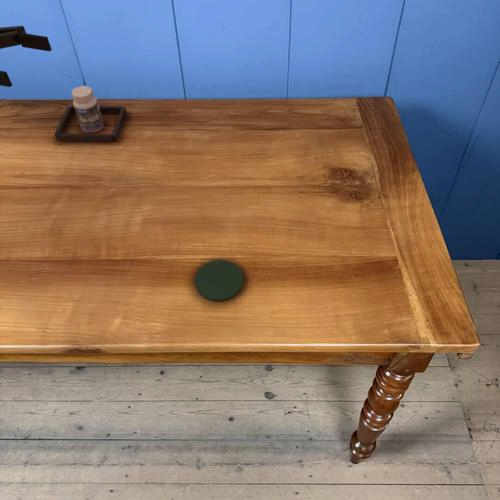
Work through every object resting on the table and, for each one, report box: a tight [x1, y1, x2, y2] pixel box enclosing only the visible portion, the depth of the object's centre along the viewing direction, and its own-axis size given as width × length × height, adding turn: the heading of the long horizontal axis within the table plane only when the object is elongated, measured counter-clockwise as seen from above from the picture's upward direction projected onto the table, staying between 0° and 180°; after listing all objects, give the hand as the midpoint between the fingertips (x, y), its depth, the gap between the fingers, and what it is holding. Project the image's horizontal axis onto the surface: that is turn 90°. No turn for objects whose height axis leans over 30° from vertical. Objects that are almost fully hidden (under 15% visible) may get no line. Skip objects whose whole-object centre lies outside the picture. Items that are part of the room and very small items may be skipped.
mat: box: [194, 259, 244, 303], centre depth 72 cm, size 8×8×1 cm
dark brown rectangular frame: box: [54, 104, 128, 143], centre depth 97 cm, size 13×11×2 cm
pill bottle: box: [71, 85, 105, 134], centre depth 94 cm, size 5×5×8 cm
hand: (29, 61), depth 89 cm, fingers open, 13 cm apart
